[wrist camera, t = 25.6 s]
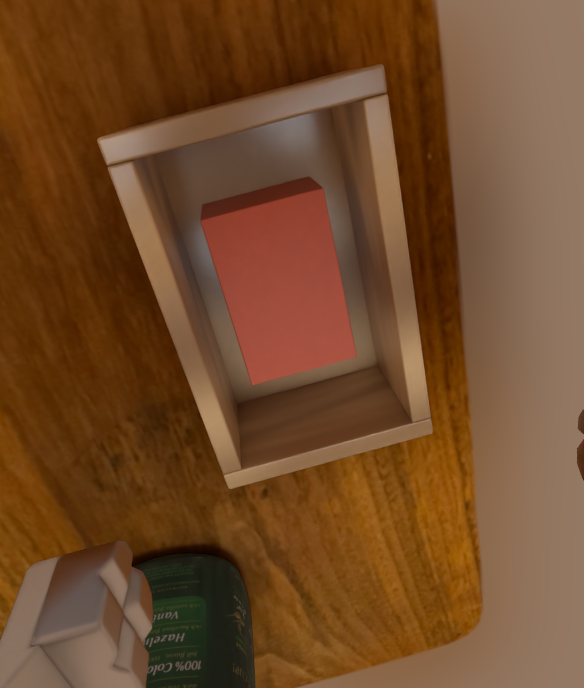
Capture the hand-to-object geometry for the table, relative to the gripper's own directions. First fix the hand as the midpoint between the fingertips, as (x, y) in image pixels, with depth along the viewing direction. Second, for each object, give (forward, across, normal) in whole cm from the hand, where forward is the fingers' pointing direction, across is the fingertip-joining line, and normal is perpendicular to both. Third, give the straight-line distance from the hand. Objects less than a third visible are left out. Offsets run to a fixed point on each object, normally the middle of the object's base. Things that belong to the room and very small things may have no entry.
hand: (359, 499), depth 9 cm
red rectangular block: (+15, 0, +1) cm, 15 cm away
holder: (+15, 0, +1) cm, 15 cm away
